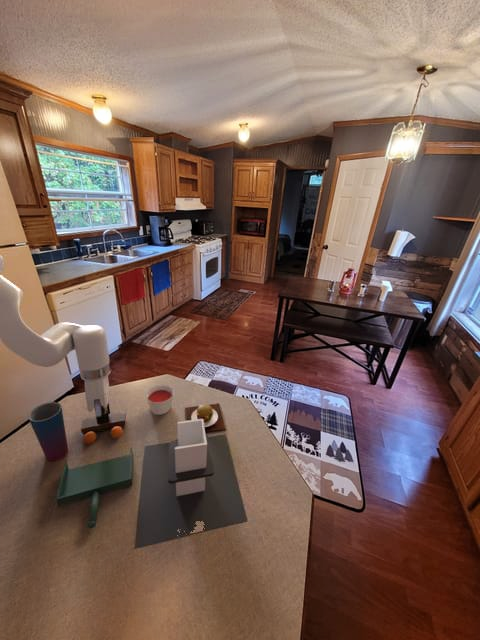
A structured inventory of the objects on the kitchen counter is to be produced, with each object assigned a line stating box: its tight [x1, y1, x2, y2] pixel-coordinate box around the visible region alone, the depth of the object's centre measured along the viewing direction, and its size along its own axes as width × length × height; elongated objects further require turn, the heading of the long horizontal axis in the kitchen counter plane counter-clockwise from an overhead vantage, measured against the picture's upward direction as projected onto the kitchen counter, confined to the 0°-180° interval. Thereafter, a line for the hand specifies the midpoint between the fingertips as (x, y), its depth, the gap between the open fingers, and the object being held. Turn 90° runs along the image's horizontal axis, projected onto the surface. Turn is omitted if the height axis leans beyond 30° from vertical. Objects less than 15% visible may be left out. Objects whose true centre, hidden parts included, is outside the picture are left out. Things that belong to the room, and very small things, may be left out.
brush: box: [80, 407, 127, 435], centre depth 78 cm, size 4×12×8 cm, turn 111°
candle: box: [145, 384, 175, 416], centre depth 87 cm, size 9×9×6 cm
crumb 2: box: [110, 426, 123, 439], centre depth 76 cm, size 3×3×3 cm
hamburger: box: [184, 403, 227, 434], centre depth 84 cm, size 12×12×6 cm
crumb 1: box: [83, 432, 97, 445], centre depth 73 cm, size 3×3×3 cm
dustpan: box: [55, 447, 134, 530], centre depth 61 cm, size 17×16×3 cm
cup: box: [27, 401, 69, 462], centre depth 67 cm, size 7×7×15 cm
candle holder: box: [134, 419, 248, 549], centre depth 63 cm, size 25×24×16 cm
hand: (103, 418), depth 78 cm, fingers closed on brush, 2 cm apart
